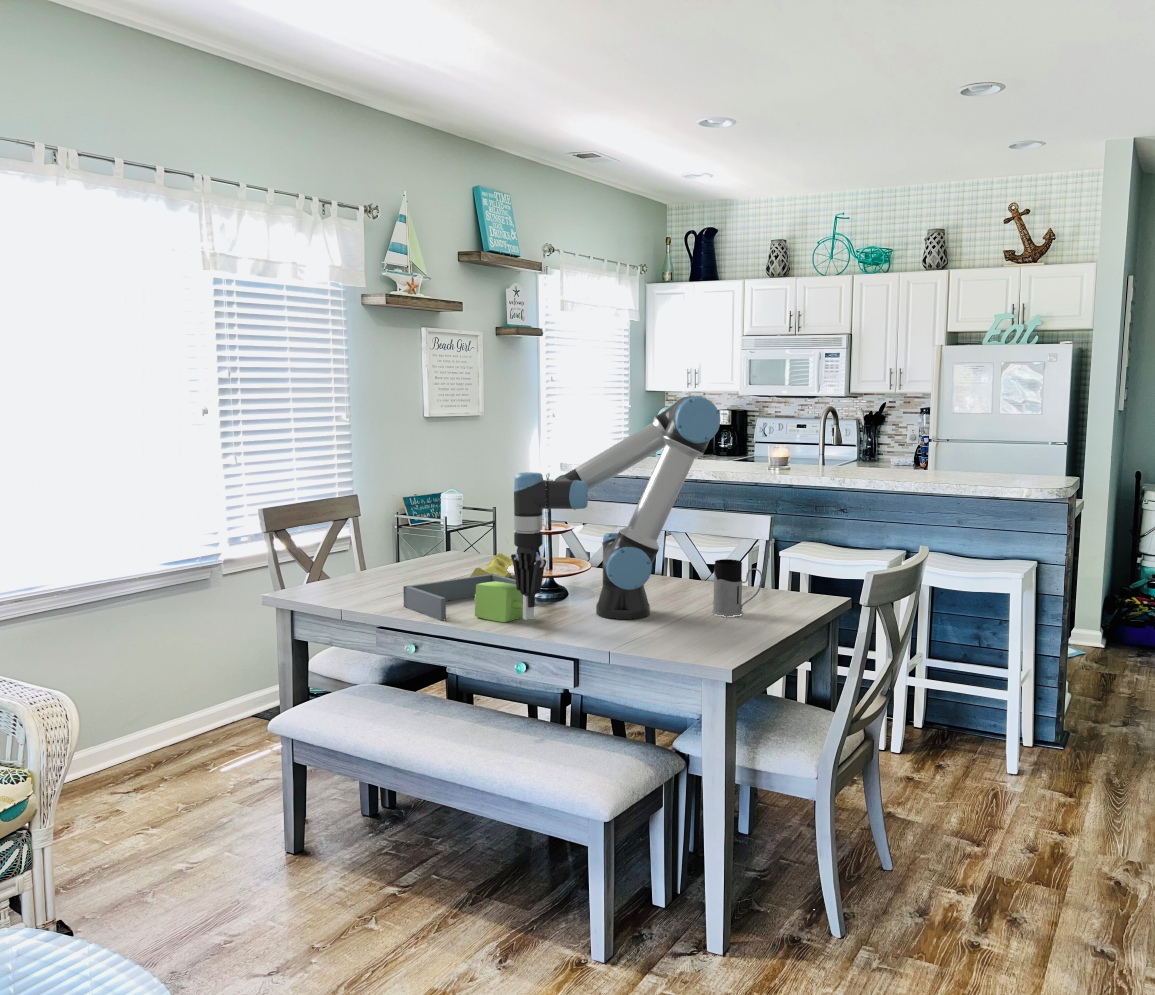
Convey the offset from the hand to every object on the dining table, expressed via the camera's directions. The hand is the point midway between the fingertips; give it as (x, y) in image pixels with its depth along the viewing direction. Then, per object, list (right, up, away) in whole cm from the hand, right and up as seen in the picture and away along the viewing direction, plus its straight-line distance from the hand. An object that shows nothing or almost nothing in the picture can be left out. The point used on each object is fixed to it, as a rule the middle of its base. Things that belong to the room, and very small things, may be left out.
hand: (528, 618), depth 251 cm
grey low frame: (-19, +1, +23) cm, 30 cm away
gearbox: (-7, -1, +9) cm, 12 cm away
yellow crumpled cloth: (-14, +5, +61) cm, 63 cm away
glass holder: (+58, -1, +13) cm, 59 cm away
